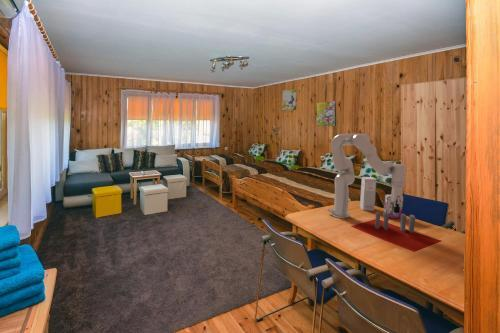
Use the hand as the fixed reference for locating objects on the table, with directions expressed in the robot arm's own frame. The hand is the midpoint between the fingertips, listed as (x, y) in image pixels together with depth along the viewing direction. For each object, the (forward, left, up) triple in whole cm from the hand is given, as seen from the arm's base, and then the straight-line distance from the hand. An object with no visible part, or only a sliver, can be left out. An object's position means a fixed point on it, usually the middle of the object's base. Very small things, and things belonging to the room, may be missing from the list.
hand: (395, 211), depth 183 cm
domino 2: (-5, 0, -12) cm, 13 cm away
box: (-13, +41, -12) cm, 45 cm away
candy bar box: (+3, +25, -13) cm, 28 cm away
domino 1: (-10, 0, -12) cm, 16 cm away
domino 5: (+10, 0, -12) cm, 16 cm away
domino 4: (+5, 0, -12) cm, 13 cm away
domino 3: (0, 0, -2) cm, 2 cm away
